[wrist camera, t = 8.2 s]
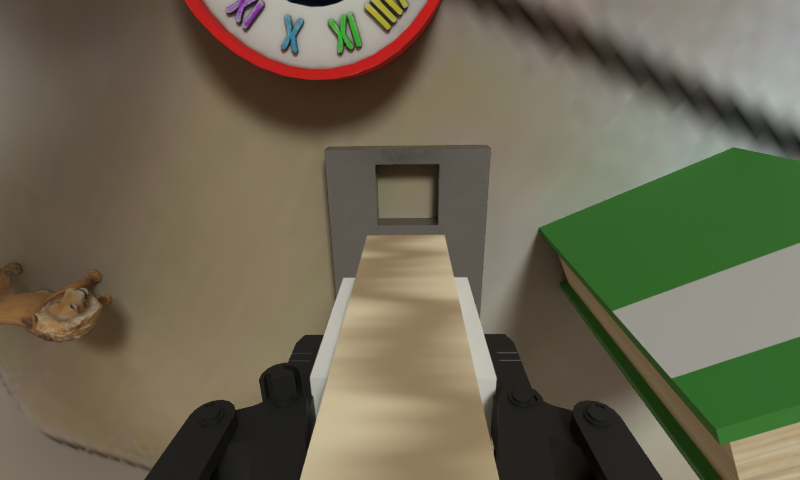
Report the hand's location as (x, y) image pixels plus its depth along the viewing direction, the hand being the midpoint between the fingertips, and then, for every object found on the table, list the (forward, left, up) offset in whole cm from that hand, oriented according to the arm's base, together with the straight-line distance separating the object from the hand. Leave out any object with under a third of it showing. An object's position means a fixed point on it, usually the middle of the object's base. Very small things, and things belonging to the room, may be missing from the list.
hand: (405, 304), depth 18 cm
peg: (0, 0, -4) cm, 4 cm away
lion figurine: (-34, -9, -21) cm, 41 cm away
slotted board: (0, -8, -21) cm, 22 cm away
